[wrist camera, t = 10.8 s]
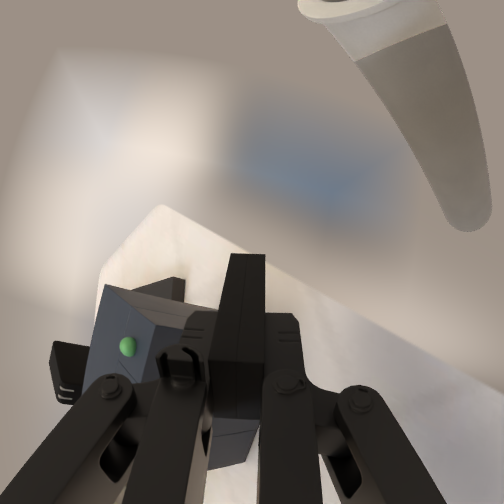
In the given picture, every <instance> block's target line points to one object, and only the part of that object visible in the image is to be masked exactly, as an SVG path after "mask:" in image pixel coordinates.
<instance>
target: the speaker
mask: <svg viewBox="0 0 504 504" xmlns="http://www.w3.org/2000/svg"><path fill="white" fill-rule="evenodd" d="M195 310H198V311H215V312H218V310H216V309H211V308H207V307H202V306H197V305H192V304H188V303H183V302H178V301H174V300H169V299H165V298H161V297H156V296H152V295H148V294H144V293H139V292H135V291H131V290H127V289H123V288H119V287H115V286H111V285H107V284H105V286H104V289H103V293H102V297H101V301H100V305H99V309H98V313H97V317H96V322H95V326H94V331H93V335H92V340H91V345H90V350H89V355H88V360H87V365H86V371H85V377H84V383H83V389H82V394H83V393H84V392H85V391H86V390H87V389H88V387H89V386H90V385H91V384H92V383H93V382H94V381H95V380H96V379H97V378H99V377H100V376H103V375H105V374H110V373H117V374H122V375H124V376H126V377H127V378H129V380H130V381H131V383H132V384H133V383H142V382H149V381H154V380H156V379H159V378H160V375H159V371H158V367H157V363H156V359H155V357H156V355H157V354H158V352H159V351H160V350H162V349H163V348H165V347H167V346H170V345H173V344H179V341H180V338H181V335H182V332H183V330H184V326H185V323H186V320H187V318H188V317H189V316H190V315H191V314H192V313H193V312H194V311H195ZM81 396H82V395H81ZM259 424H260V420H243V419H226V418H214V413H213V417H212V430H213V433H212V440H211V447H210V454H209V461H208V469H207V471H208V470H213V469H217V468H222V467H226V466H230V465H234V464H238V463H242V462H244V461H245V459H246V457H247V454H248V452H249V449H250V446H251V444H252V441H253V439H254V436H255V434H256V431H257V429H258V426H259Z"/></svg>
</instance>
